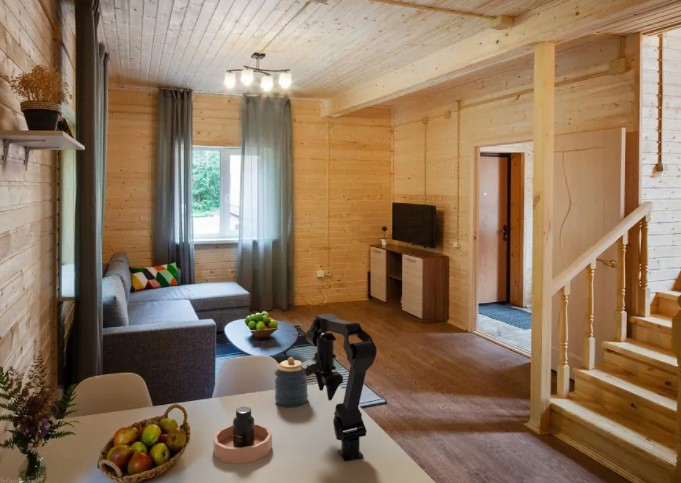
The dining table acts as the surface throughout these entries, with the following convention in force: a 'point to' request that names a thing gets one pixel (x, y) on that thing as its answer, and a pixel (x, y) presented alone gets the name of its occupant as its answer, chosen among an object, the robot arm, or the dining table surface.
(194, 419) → the dining table surface
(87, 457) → the dining table surface
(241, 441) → the supplement bottle
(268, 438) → the terracotta bowl
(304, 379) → the canister
